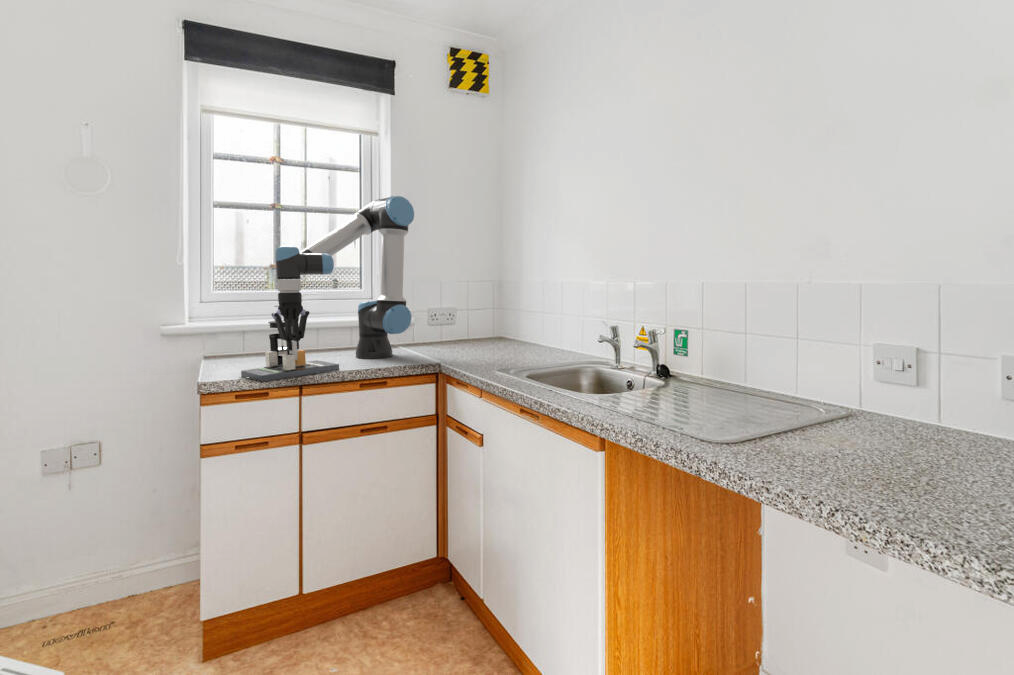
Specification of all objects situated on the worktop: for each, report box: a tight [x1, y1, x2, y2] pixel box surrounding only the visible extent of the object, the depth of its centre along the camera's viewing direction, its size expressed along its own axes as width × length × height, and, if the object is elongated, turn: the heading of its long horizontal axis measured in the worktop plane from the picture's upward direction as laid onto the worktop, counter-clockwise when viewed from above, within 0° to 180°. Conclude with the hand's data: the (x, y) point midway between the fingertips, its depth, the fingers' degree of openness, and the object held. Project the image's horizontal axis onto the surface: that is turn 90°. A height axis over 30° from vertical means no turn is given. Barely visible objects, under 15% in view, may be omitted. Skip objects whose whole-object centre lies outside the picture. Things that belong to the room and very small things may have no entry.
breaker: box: [295, 349, 307, 366], centre depth 186 cm, size 3×2×5 cm
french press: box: [267, 304, 293, 365], centre depth 199 cm, size 12×9×23 cm
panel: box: [240, 350, 340, 383], centre depth 184 cm, size 28×15×8 cm, turn 140°
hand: (293, 359), depth 185 cm, fingers closed
